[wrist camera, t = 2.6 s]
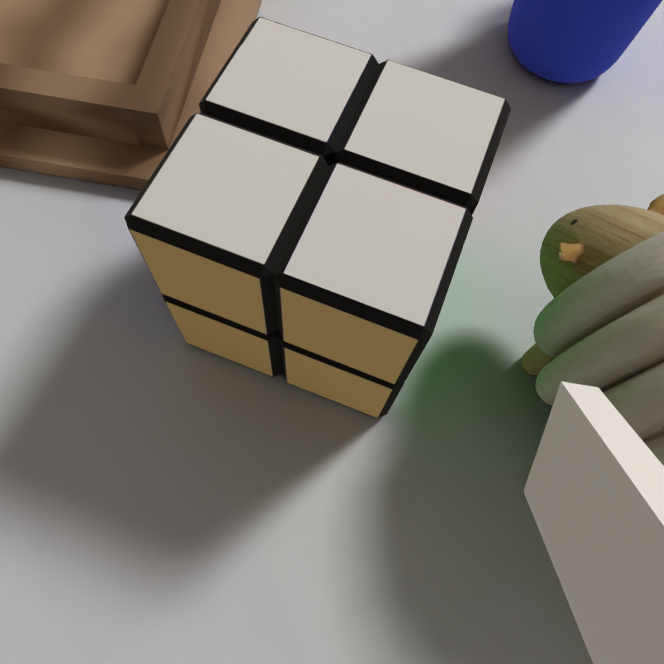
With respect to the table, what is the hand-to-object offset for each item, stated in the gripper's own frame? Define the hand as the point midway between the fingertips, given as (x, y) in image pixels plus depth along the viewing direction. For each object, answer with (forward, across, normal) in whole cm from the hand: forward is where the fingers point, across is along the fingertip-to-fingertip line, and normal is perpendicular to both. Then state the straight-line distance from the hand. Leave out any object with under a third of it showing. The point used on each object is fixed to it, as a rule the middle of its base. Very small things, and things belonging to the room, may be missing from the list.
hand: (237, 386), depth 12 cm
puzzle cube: (+16, +1, -3) cm, 16 cm away
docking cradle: (+26, -16, +7) cm, 31 cm away
